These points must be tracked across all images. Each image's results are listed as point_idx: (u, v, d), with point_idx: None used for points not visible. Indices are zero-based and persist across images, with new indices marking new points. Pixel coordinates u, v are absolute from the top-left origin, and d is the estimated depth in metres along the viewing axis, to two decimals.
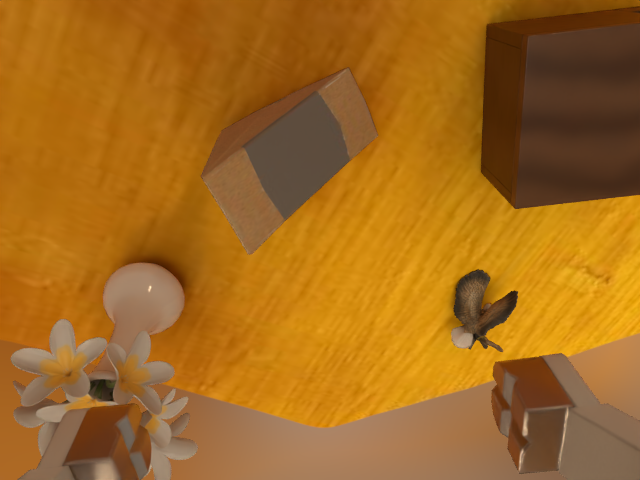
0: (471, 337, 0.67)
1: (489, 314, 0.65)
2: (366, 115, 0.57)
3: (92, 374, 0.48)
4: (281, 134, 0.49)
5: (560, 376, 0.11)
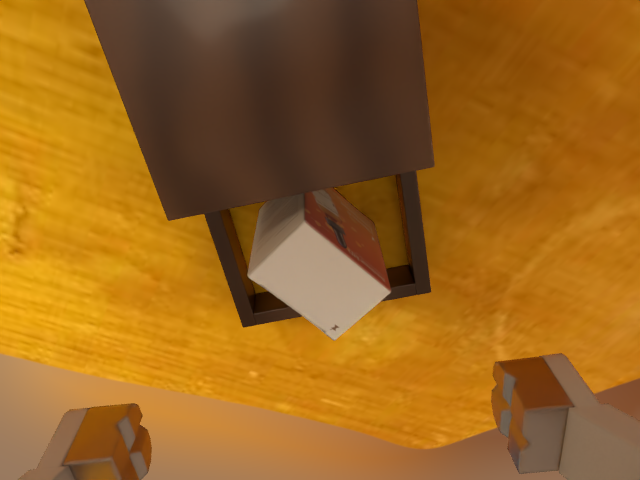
0: None
1: None
2: None
3: None
4: None
5: (560, 376, 0.11)
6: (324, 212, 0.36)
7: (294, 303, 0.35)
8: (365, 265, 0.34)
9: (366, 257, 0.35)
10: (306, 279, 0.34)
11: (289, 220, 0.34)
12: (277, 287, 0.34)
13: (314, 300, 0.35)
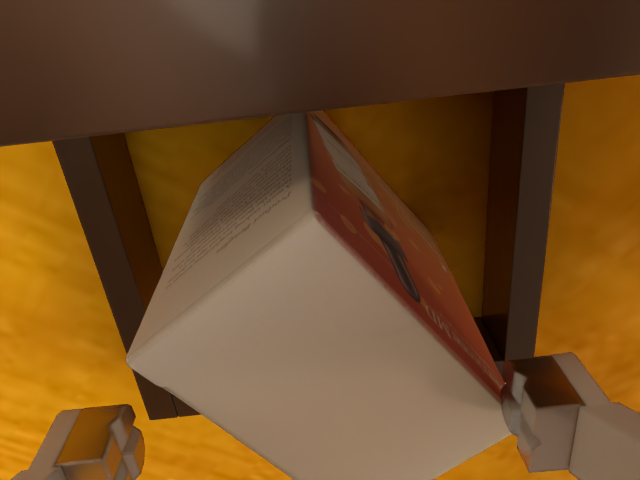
0: None
1: None
2: None
3: None
4: None
5: (570, 375, 0.11)
6: (357, 197, 0.14)
7: (258, 439, 0.13)
8: (465, 351, 0.12)
9: (457, 322, 0.14)
10: (297, 383, 0.12)
11: (263, 207, 0.12)
12: (213, 398, 0.12)
13: (313, 436, 0.12)
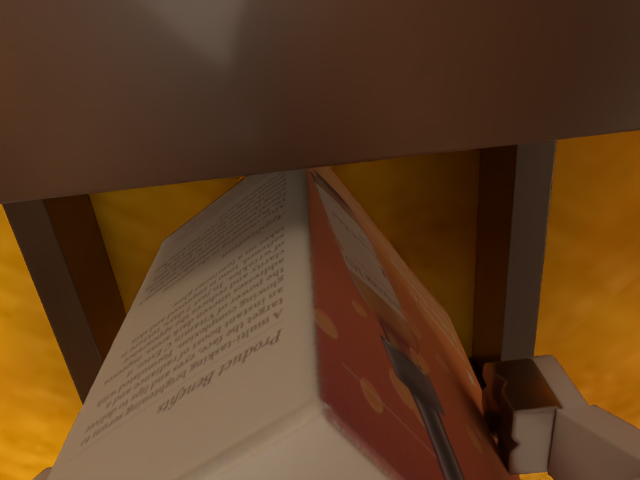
0: None
1: None
2: None
3: None
4: None
5: (549, 377, 0.11)
6: (376, 314, 0.09)
7: None
8: None
9: None
10: None
11: (235, 345, 0.08)
12: None
13: None
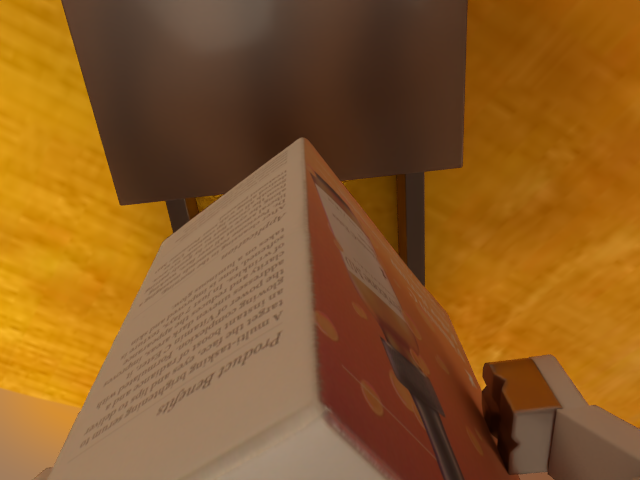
0: None
1: None
2: None
3: None
4: None
5: (549, 377, 0.11)
6: (375, 316, 0.09)
7: None
8: None
9: None
10: None
11: (235, 347, 0.08)
12: None
13: None
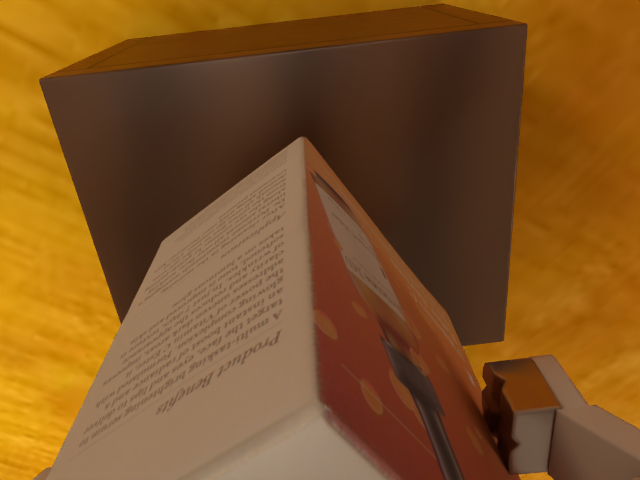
0: None
1: None
2: None
3: None
4: None
5: (549, 377, 0.11)
6: (375, 315, 0.09)
7: None
8: None
9: None
10: None
11: (235, 346, 0.08)
12: None
13: None
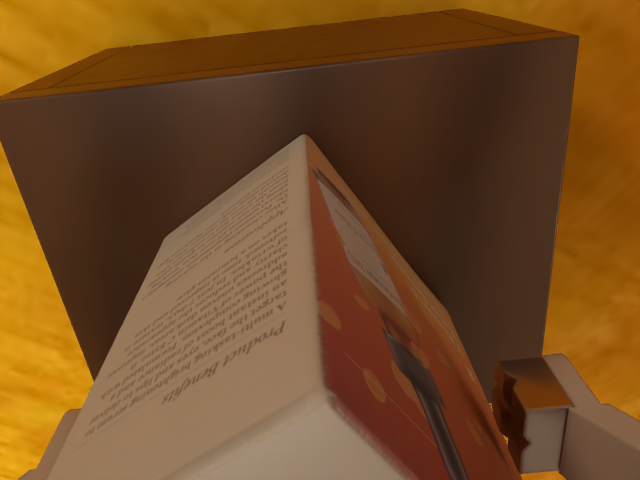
0: None
1: None
2: None
3: None
4: None
5: (560, 376, 0.11)
6: (377, 308, 0.09)
7: None
8: None
9: None
10: None
11: (240, 337, 0.08)
12: None
13: None
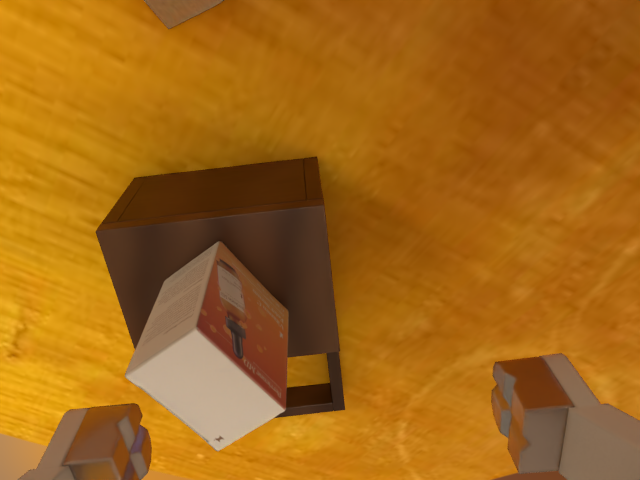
0: None
1: None
2: (196, 8, 0.40)
3: None
4: None
5: (560, 376, 0.11)
6: (226, 310, 0.32)
7: (176, 409, 0.31)
8: (261, 378, 0.31)
9: (266, 365, 0.32)
10: (191, 387, 0.30)
11: (183, 317, 0.30)
12: (158, 391, 0.30)
13: (198, 409, 0.31)
